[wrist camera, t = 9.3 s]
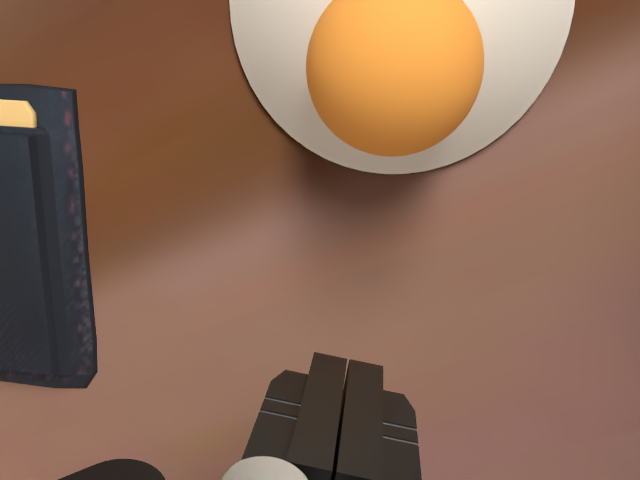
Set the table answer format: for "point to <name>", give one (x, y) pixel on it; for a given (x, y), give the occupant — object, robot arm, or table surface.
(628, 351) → the table surface
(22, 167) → the wallet
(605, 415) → the table surface
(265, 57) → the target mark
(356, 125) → the ball
